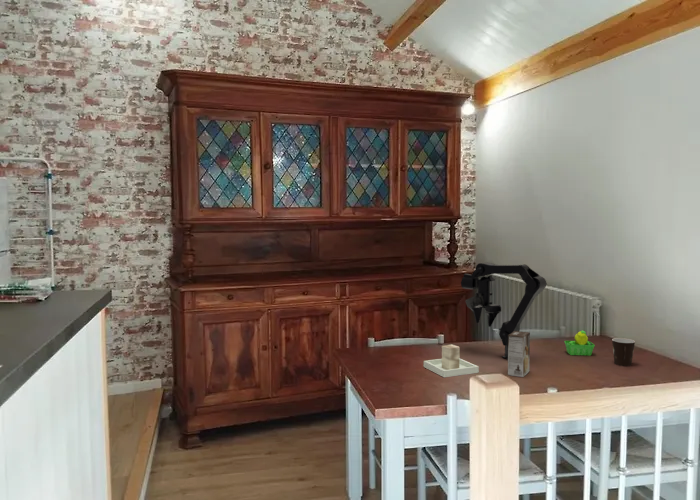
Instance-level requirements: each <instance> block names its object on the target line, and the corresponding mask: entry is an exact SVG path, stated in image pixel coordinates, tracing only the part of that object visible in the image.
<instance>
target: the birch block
mask: <svg viewBox="0 0 700 500" xmlns="http://www.w3.org/2000/svg"><path fill="white" fill-rule="evenodd" d="M459 358H460V346H458V345H455V344H445V345H441V359H442V368H444V369H447V370H450V369H457V368H459Z"/></svg>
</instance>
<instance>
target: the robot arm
mask: <svg viewBox="0 0 700 500" xmlns="http://www.w3.org/2000/svg"><path fill="white" fill-rule="evenodd" d="M495 274H506V275H507V274H512V275H513V274H514V275H519V276H520V278H521V280H522V281H523V282H524V283H525V288H524V295H523V296H522V298H521V300H520V301H519V304H518V305H517V307H516V309H515V311H514V313H513V315H512V317H511V318H510V320H507V321H503V323H502V324H501V327H500V328H499V329H498V331H499V332H498V335H499V338H500V340H501V342H502V345H503V346H504V355H502V356H501V357H502V358H503V359H507V360H508V335H509V334H511V333H512V332H514V331H520V332H521V324H522V322H523V320H524V318H525V317H526V315H527V313H528V311H529V310H530V308H531V306H532V304H533V302H534V301H535V299H536V297H538V296H539V295H540V294H541V293H542V292H543V291H544V290H545V288H546V287H547V285H548V284H547V280H546V279H545V278H544V277H543V276H541V275H540V274H538V272H536V271H534V270H533V269H531V267H530V266H529V265H527V264H523V263H522V264H498V263H497V264H496V263H494V262H487V261H486V262H480V263H477V265H476V266H475V269H474V270H473V272H472V273H471V274H469V273H463V276H462V278H461V280H460V286H461V288H462V289H467V290H477V291H475V292H474V295H473V296H471V297H469V298H466V299H465V304H466V307H467V308H468V309H470V310H471V312H472V313H473V316H474V320H475V323H477V324H478V323H479V322H480V319H481V315H482V311H483V309H485V311H484V313H485V314H486V316H487V326H488V327H492V325H493V323H494V321H495V319H496V318H497V316H498V314H500V312H502V306H501V305H499V304H497V303H494V304H493V302H492V301H491V296H493V292H491V282H495V280H496V278H494V277H493V275H495Z"/></svg>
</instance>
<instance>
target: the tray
mask: <svg viewBox="0 0 700 500" xmlns="http://www.w3.org/2000/svg"><path fill="white" fill-rule="evenodd" d="M423 368H425V369H427V370H429V371H431V372H433V373H435V374H437V375H438V376H440V377H443V378H450V377H457V376H466V375H473V374H479V371H480V370H479V369H480V367H479V365H476V364H473V363H471V362H469V361H467V360H464V359H462V358H460V357H459V368H457V369H450V370H447V369H444V368H442V358H436V359H429V360H423Z"/></svg>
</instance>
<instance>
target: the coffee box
mask: <svg viewBox="0 0 700 500" xmlns="http://www.w3.org/2000/svg"><path fill="white" fill-rule="evenodd" d="M530 338H531V332H530V331H521V330H520V331H514V332H512V333H511V334H509V335H508V359H507V376H512V377H520V378H524V377H525V376H526V375H527V374H528V373H529V372H530V361H531V359H530V357H531V356H530V355H531V351H530V350H531V339H530Z"/></svg>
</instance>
